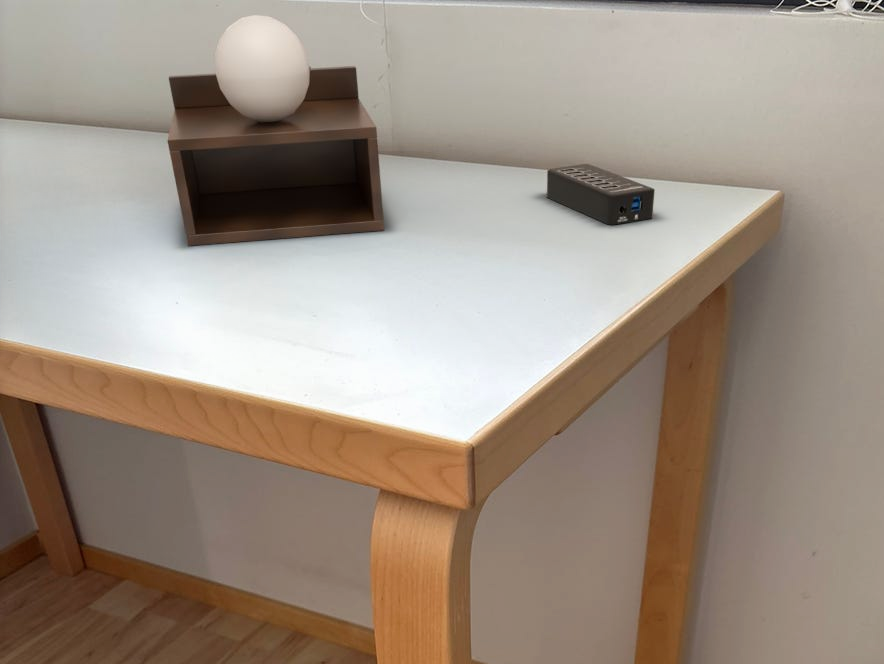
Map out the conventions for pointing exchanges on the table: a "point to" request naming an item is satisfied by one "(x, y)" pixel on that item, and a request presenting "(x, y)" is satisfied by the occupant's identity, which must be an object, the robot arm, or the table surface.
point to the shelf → (275, 163)
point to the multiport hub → (600, 194)
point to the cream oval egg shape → (262, 68)
